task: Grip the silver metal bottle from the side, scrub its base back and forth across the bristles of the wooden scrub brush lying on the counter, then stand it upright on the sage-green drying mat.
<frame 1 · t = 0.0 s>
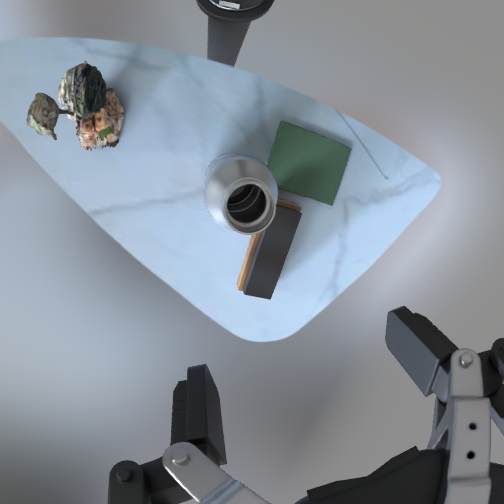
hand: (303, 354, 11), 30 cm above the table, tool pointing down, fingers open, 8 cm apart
plant with pod: (101, 111, 31), on the table
silver metal bottle: (228, 176, 38), on the table
drying mat: (307, 164, 38), on the table
scrub brush: (266, 245, 42), on the table
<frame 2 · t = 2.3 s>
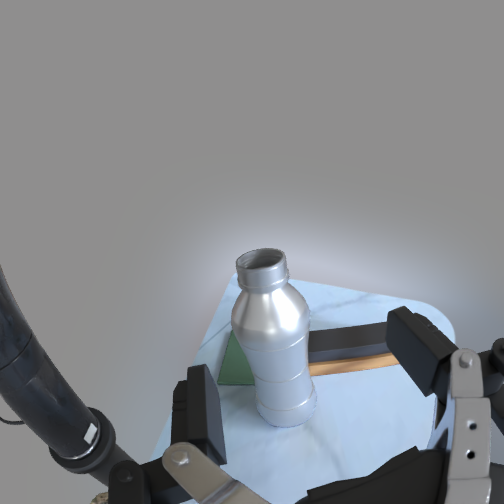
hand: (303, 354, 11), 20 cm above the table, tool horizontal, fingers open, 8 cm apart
silver metal bottle: (288, 412, 29), on the table
drying mat: (256, 355, 39), on the table
scrub brush: (349, 358, 35), on the table
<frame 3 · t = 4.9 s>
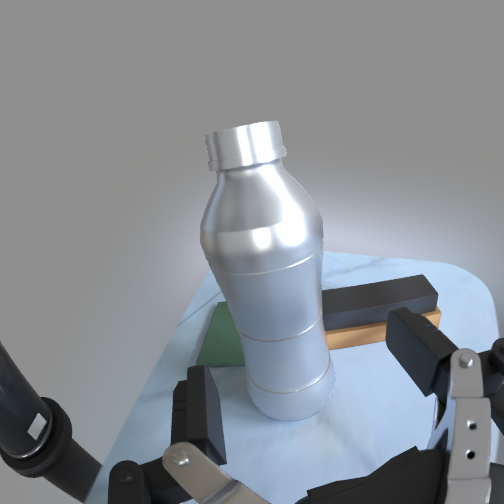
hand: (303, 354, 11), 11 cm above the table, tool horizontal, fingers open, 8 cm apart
silver metal bottle: (294, 400, 21), on the table
drying mat: (248, 330, 31), on the table
scrub brush: (370, 326, 27), on the table
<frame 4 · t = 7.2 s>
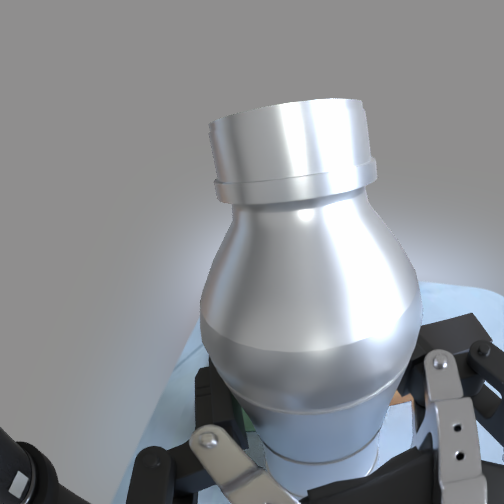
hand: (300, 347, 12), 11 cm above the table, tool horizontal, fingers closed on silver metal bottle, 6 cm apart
silver metal bottle: (322, 479, 14), on the table, touching gripper
scrub brush: (410, 377, 19), on the table
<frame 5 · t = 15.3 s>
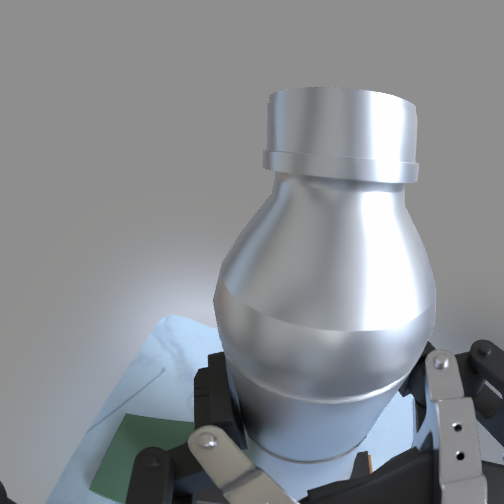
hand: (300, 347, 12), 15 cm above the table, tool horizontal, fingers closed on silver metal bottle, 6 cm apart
silver metal bottle: (289, 483, 14), point 4 cm above the table, touching gripper, scrub brush
drying mat: (144, 462, 20), on the table
scrub brush: (280, 497, 16), on the table
when the fingers open (11 cm above the table, at t = 24.0 s): silver metal bottle stays where it is, resting on drying mat.
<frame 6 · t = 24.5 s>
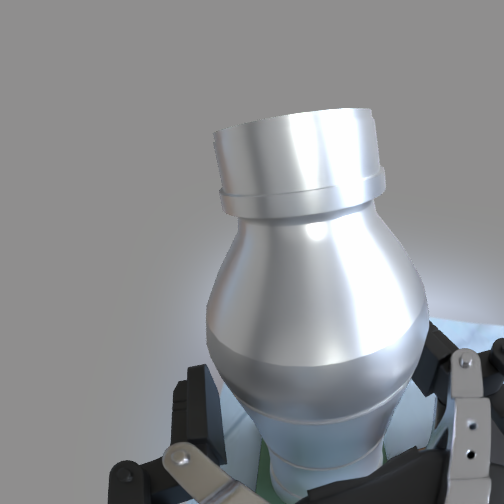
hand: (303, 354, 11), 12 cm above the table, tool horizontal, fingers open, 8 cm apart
silver metal bottle: (326, 481, 14), resting on drying mat
drying mat: (323, 482, 14), on the table
scrub brush: (493, 456, 10), on the table
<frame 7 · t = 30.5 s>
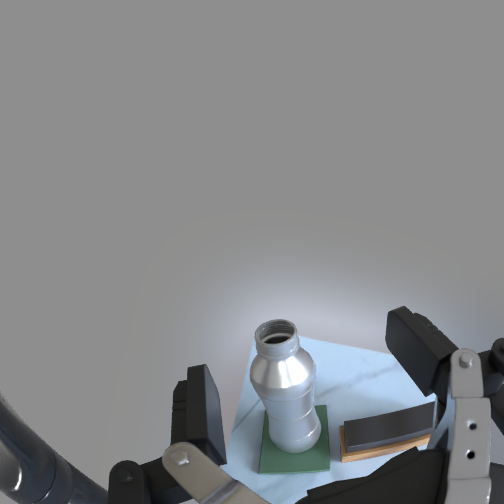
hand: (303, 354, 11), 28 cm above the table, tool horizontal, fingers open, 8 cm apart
silver metal bottle: (296, 439, 32), resting on drying mat
drying mat: (295, 440, 32), on the table
scrub brush: (391, 438, 28), on the table
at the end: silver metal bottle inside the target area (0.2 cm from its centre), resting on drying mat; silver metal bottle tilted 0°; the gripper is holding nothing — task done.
